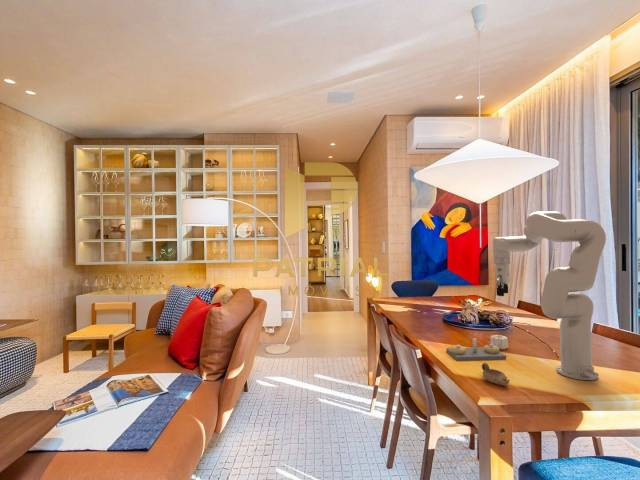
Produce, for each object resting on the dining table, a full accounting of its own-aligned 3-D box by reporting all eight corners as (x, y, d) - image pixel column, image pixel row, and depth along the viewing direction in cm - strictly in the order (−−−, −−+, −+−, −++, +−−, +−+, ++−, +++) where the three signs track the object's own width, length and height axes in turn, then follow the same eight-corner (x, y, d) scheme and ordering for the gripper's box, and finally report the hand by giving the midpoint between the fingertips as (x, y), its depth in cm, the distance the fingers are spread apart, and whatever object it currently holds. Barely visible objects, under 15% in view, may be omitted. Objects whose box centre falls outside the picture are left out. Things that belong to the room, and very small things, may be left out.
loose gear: (511, 349, 155) (510, 338, 155) (495, 349, 155) (495, 339, 155) (502, 344, 162) (502, 334, 162) (488, 344, 162) (487, 334, 162)
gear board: (506, 359, 142) (505, 342, 142) (456, 360, 143) (456, 343, 143) (492, 349, 154) (491, 334, 154) (446, 351, 155) (445, 335, 155)
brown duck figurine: (515, 388, 115) (514, 374, 115) (495, 389, 115) (494, 375, 115) (492, 373, 128) (492, 360, 128) (474, 374, 128) (474, 362, 128)
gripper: (506, 262, 156) (507, 297, 156) (513, 260, 169) (514, 292, 169) (489, 262, 161) (490, 296, 161) (497, 259, 174) (498, 291, 174)
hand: (502, 294), depth 165 cm, fingers open, 9 cm apart
